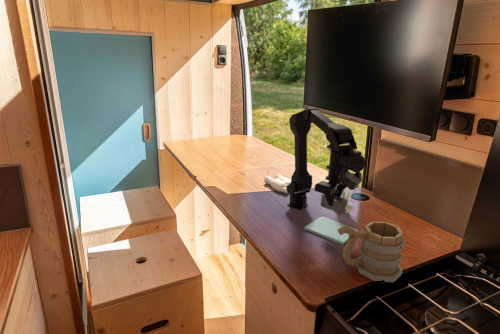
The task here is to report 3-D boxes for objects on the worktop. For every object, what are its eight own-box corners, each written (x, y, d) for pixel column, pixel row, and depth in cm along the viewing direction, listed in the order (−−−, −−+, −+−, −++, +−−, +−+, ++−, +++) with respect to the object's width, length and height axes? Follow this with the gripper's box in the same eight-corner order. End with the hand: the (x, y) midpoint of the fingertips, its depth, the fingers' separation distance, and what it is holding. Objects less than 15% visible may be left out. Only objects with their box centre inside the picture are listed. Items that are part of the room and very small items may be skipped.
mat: (304, 229, 130) (304, 226, 130) (321, 218, 139) (321, 216, 138) (342, 245, 120) (342, 242, 120) (358, 232, 128) (359, 230, 128)
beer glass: (329, 208, 147) (332, 175, 142) (343, 205, 150) (346, 173, 145) (339, 215, 141) (342, 180, 136) (353, 212, 144) (357, 178, 139)
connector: (318, 205, 128) (319, 195, 127) (324, 202, 131) (325, 192, 129) (349, 216, 120) (350, 205, 119) (354, 212, 123) (356, 202, 121)
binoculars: (280, 180, 178) (281, 172, 176) (300, 191, 165) (300, 182, 163) (263, 184, 173) (263, 175, 171) (282, 196, 160) (282, 186, 158)
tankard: (391, 258, 113) (398, 216, 108) (406, 283, 101) (414, 238, 96) (329, 256, 114) (333, 215, 109) (337, 281, 102) (342, 236, 97)
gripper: (345, 176, 109) (340, 220, 114) (371, 162, 122) (366, 202, 127) (315, 167, 116) (312, 209, 121) (343, 155, 129) (339, 194, 134)
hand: (333, 204), depth 126 cm, fingers closed on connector, 4 cm apart
